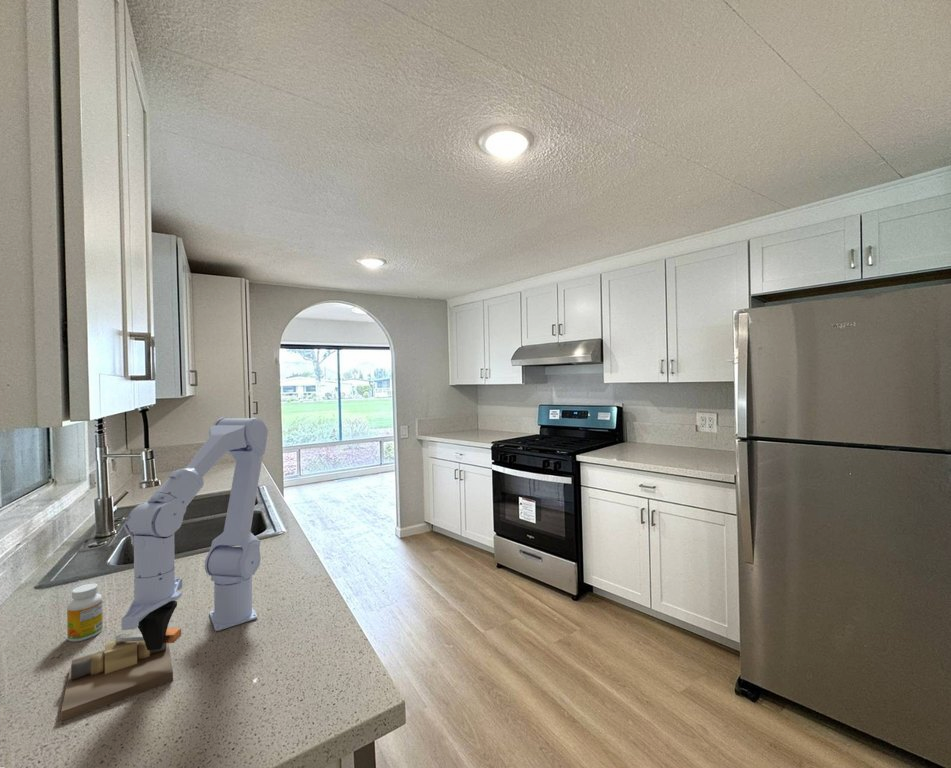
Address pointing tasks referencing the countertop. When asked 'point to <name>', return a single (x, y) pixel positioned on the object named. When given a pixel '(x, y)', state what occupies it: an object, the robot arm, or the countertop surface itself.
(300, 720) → the countertop surface
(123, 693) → the valve base
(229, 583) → the robot arm
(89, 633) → the supplement bottle
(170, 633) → the valve lever
